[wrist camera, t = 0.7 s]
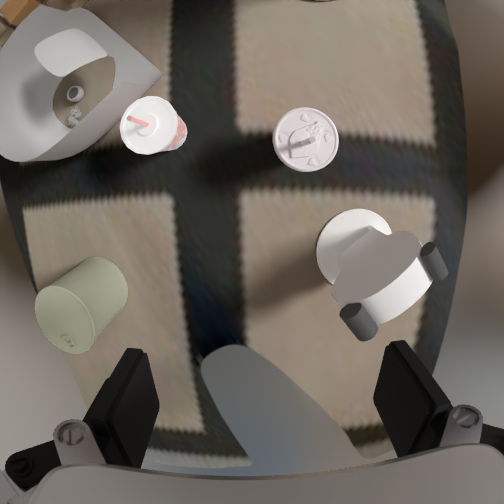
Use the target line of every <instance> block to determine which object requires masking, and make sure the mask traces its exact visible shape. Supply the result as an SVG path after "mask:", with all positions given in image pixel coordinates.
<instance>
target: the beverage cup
mask: <svg viewBox="0 0 504 504" xmlns="http://www.w3.org/2000/svg"><path fill="white" fill-rule="evenodd" d="M120 132H121V137H122V140H123V141H124V143H125V144H126V146H127V147H128V148H129V149H131V150H132V151H134V152H135V153H139V154H147V155H149V154H153V153H157V152H160V151H170V150H174V149H177V148H178V147H180V146H181V145H182V144H183V142H184V141H185V139H186V135H187V128H186V125H185V123H184V122H183V121H182V119H181V118H180V117H179V116H178V115H177V114H176V111H175V110H174V108H173V107H172V106H171V104H170V103H169V102H167V101H166V100H164V99H162V98H160V97H155V96H147V97H143V98H140V99H138V100H136V101H135V102H134V103H132V104H131V105H130V106H129V107H128V108H127V110H126V111H125V113H124V115H123V116H122V120H121V125H120Z"/></svg>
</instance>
